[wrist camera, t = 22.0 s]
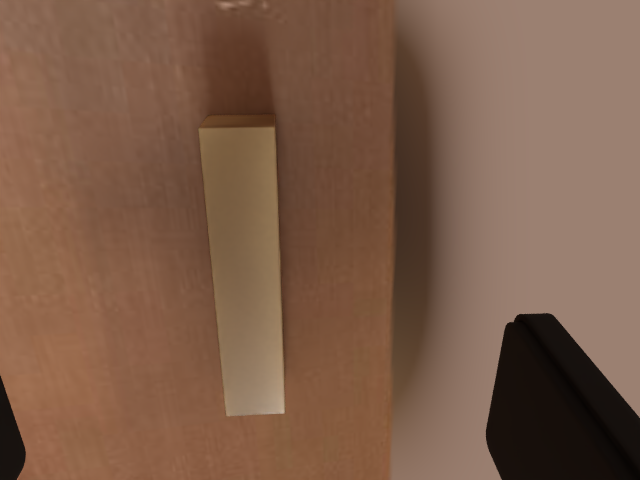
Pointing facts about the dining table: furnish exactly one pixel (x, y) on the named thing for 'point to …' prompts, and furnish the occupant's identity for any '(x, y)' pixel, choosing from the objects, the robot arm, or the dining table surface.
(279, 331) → the stick
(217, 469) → the dining table surface
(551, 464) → the robot arm
